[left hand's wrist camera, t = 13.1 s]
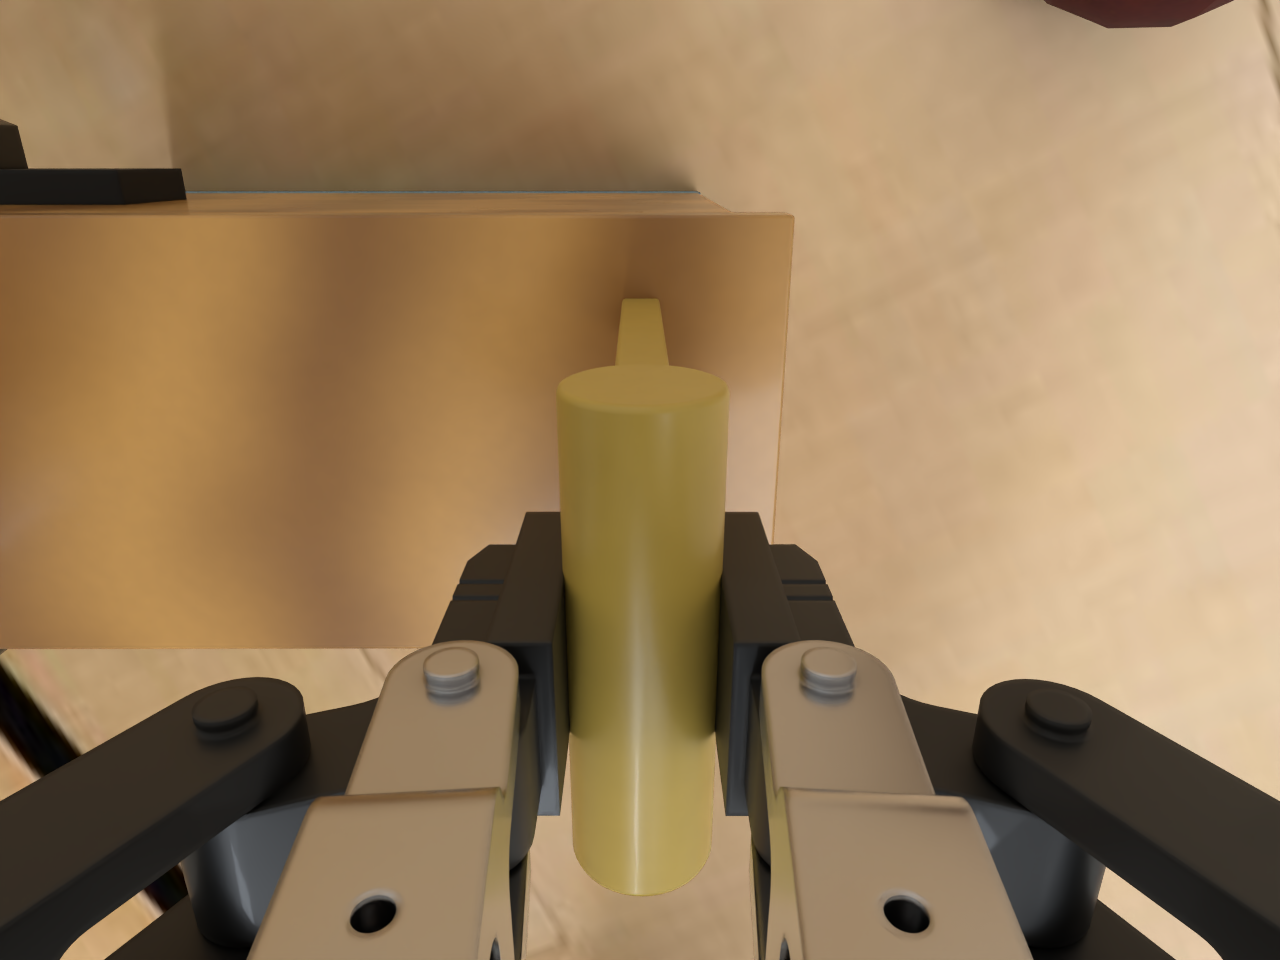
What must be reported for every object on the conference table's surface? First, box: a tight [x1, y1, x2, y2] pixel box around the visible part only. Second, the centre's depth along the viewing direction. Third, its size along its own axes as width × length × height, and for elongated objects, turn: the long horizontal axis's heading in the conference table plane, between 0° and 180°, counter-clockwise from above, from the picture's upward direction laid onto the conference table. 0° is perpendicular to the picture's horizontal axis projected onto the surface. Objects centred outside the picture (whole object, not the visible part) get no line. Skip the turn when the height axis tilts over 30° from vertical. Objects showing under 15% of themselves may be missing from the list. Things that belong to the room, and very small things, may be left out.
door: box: [0, 212, 794, 896], centre depth 13 cm, size 17×9×9 cm, turn 90°
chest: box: [0, 191, 730, 212], centre depth 22 cm, size 16×9×11 cm, turn 90°
